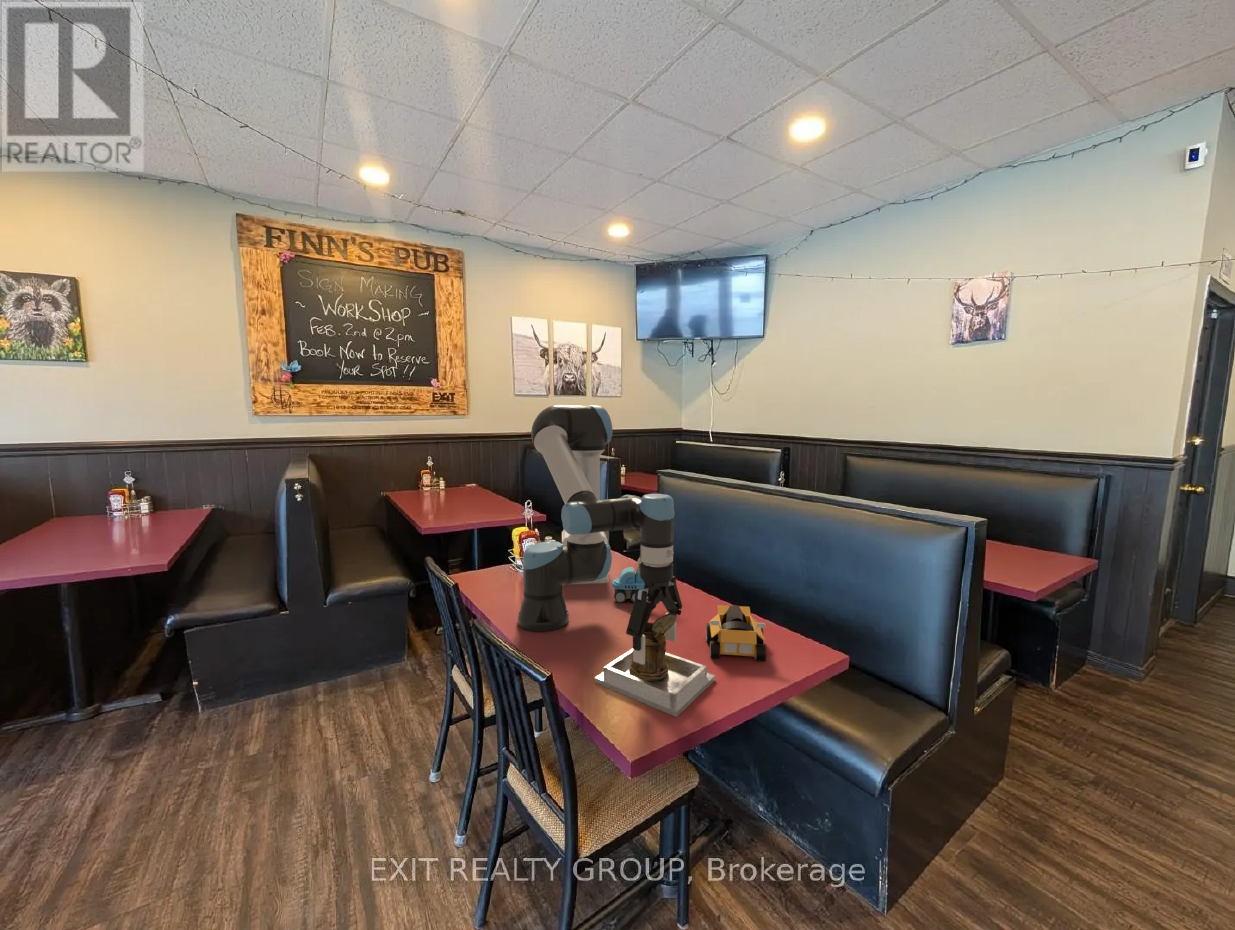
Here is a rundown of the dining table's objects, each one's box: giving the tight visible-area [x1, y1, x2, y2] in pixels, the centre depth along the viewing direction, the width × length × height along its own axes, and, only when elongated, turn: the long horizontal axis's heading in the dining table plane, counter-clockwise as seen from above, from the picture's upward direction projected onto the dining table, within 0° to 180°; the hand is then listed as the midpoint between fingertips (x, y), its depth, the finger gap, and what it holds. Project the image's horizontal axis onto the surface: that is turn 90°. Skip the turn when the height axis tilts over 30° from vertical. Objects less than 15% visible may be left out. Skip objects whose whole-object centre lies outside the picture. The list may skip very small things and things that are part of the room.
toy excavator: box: [611, 557, 645, 603], centre depth 168 cm, size 9×17×17 cm, turn 89°
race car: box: [705, 604, 767, 662], centre depth 133 cm, size 15×15×11 cm
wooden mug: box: [629, 612, 677, 682], centre depth 116 cm, size 9×14×18 cm, turn 26°
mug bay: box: [594, 647, 716, 718], centre depth 117 cm, size 22×18×4 cm
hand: (655, 650), depth 117 cm, fingers open, 13 cm apart
